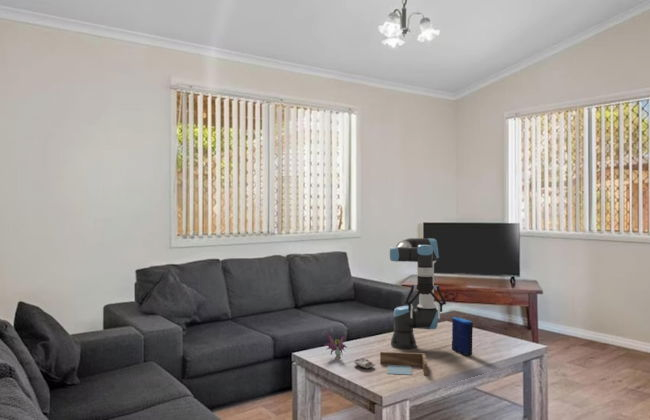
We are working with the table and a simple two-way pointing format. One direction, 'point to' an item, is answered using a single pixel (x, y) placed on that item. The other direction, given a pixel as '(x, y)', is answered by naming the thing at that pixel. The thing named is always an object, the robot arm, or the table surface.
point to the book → (462, 336)
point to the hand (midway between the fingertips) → (425, 318)
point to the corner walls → (404, 359)
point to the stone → (364, 363)
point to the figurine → (336, 345)
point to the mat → (399, 369)
